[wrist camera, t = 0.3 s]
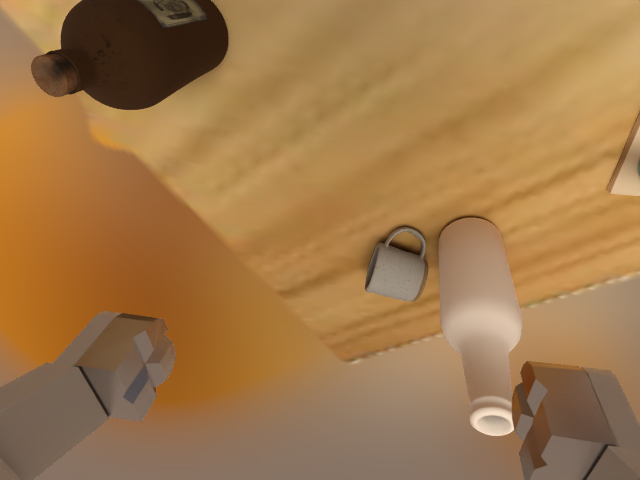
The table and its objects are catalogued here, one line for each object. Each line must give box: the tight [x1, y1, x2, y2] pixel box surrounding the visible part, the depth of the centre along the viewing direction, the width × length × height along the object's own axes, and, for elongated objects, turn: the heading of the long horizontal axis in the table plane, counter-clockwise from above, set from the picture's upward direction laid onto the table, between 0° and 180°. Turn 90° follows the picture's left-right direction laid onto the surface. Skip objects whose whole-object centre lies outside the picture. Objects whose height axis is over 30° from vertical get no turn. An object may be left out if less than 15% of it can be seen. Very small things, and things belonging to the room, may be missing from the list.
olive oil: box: [31, 0, 228, 110], centre depth 43 cm, size 11×11×25 cm
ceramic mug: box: [365, 227, 428, 301], centre depth 61 cm, size 11×8×8 cm
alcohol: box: [438, 218, 522, 436], centre depth 49 cm, size 9×9×30 cm
